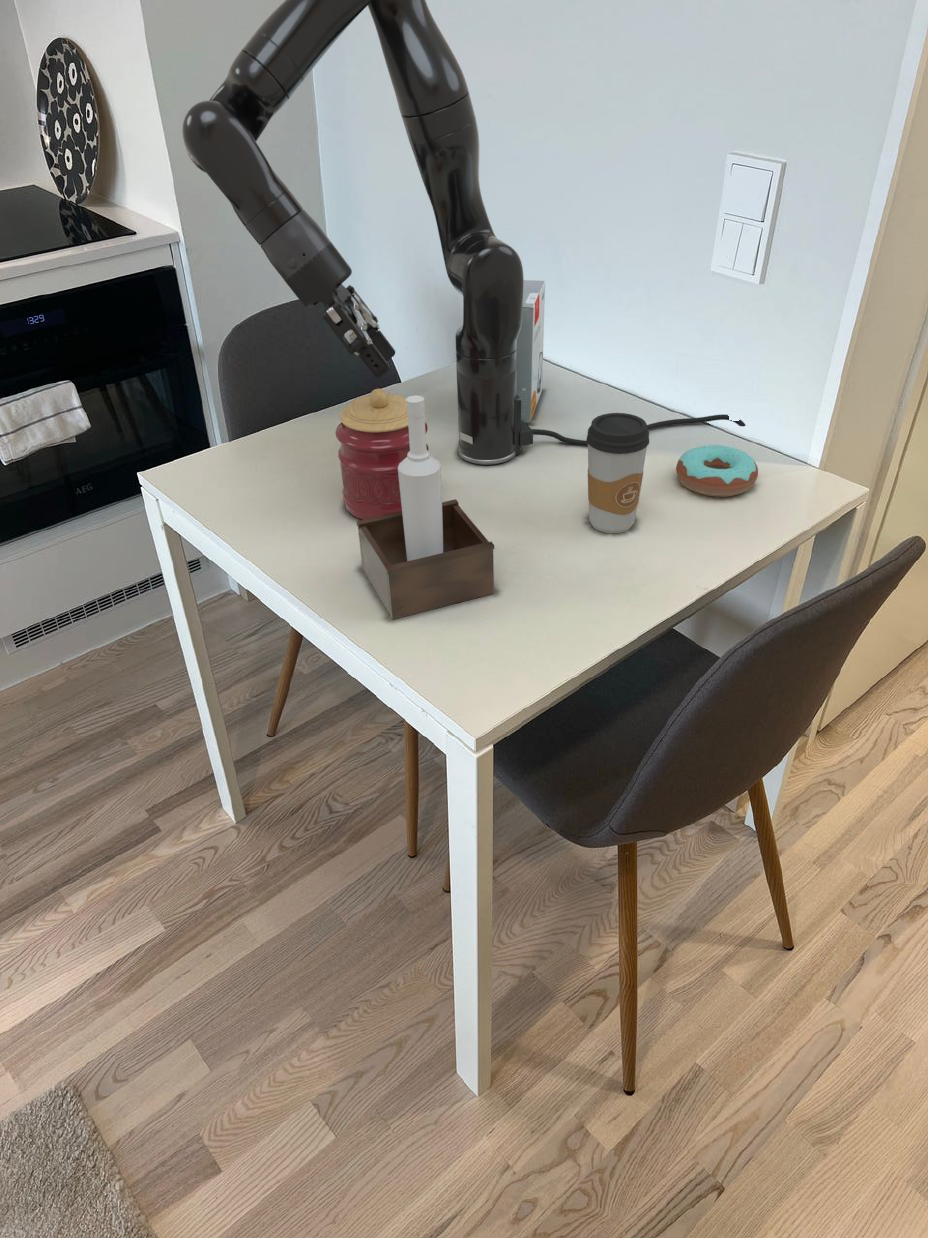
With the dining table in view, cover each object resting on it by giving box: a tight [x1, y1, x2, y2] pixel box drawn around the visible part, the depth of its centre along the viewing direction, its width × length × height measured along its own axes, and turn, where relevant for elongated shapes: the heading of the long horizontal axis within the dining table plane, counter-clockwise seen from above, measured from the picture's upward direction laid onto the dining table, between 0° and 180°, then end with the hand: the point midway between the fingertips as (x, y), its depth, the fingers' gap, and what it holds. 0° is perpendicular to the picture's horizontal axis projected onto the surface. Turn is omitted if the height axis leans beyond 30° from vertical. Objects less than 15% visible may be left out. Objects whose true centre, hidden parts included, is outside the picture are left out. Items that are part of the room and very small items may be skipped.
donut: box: [675, 444, 759, 498], centre depth 139 cm, size 12×12×4 cm
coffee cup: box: [585, 412, 650, 534], centre depth 127 cm, size 8×8×15 cm
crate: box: [355, 498, 495, 620], centre depth 119 cm, size 14×13×7 cm
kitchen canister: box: [335, 388, 430, 520], centre depth 133 cm, size 13×13×18 cm
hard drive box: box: [516, 279, 546, 424], centre depth 160 cm, size 16×8×20 cm, turn 168°
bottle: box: [398, 394, 443, 561], centre depth 114 cm, size 5×5×25 cm
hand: (387, 365), depth 122 cm, fingers open, 8 cm apart
